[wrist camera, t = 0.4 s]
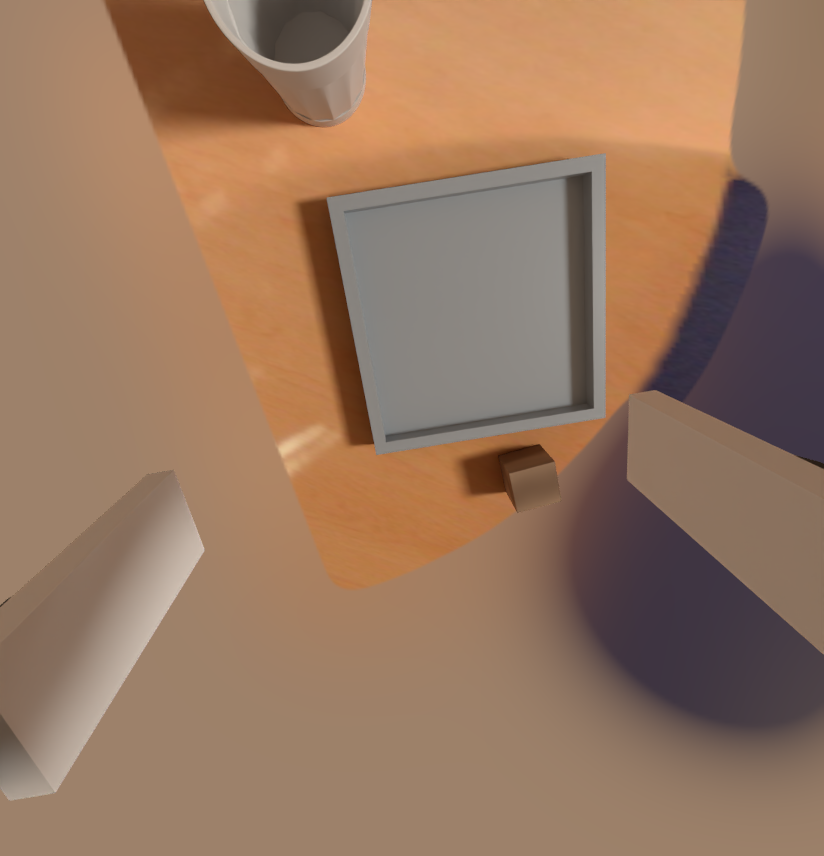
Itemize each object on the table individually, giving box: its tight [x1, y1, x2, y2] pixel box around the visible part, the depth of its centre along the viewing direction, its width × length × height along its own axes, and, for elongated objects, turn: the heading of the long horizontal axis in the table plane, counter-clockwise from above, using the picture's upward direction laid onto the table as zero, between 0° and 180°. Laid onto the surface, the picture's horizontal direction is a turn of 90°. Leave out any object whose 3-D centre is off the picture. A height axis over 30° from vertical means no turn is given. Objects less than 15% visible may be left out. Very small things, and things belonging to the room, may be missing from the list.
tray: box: [327, 153, 606, 455], centre depth 36 cm, size 20×20×2 cm
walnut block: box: [498, 444, 561, 513], centre depth 40 cm, size 4×4×4 cm
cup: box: [204, 0, 372, 127], centre depth 25 cm, size 8×8×12 cm
